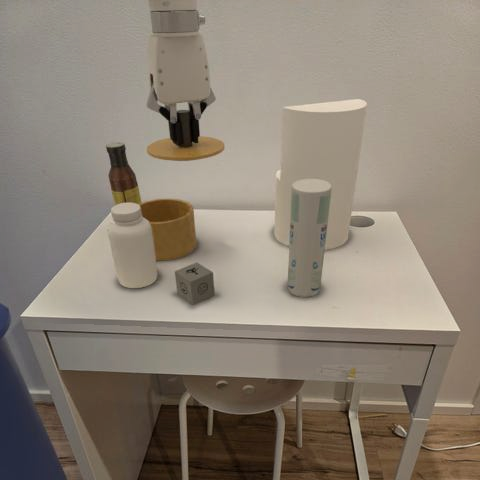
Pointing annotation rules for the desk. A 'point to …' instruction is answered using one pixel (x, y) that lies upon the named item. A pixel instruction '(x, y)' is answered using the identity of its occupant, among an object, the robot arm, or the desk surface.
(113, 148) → the sauce bottle
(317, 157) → the cylinder
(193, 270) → the dice cube
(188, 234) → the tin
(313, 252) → the spray can
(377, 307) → the desk surface
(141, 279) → the pill bottle
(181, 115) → the tan wooden disc
